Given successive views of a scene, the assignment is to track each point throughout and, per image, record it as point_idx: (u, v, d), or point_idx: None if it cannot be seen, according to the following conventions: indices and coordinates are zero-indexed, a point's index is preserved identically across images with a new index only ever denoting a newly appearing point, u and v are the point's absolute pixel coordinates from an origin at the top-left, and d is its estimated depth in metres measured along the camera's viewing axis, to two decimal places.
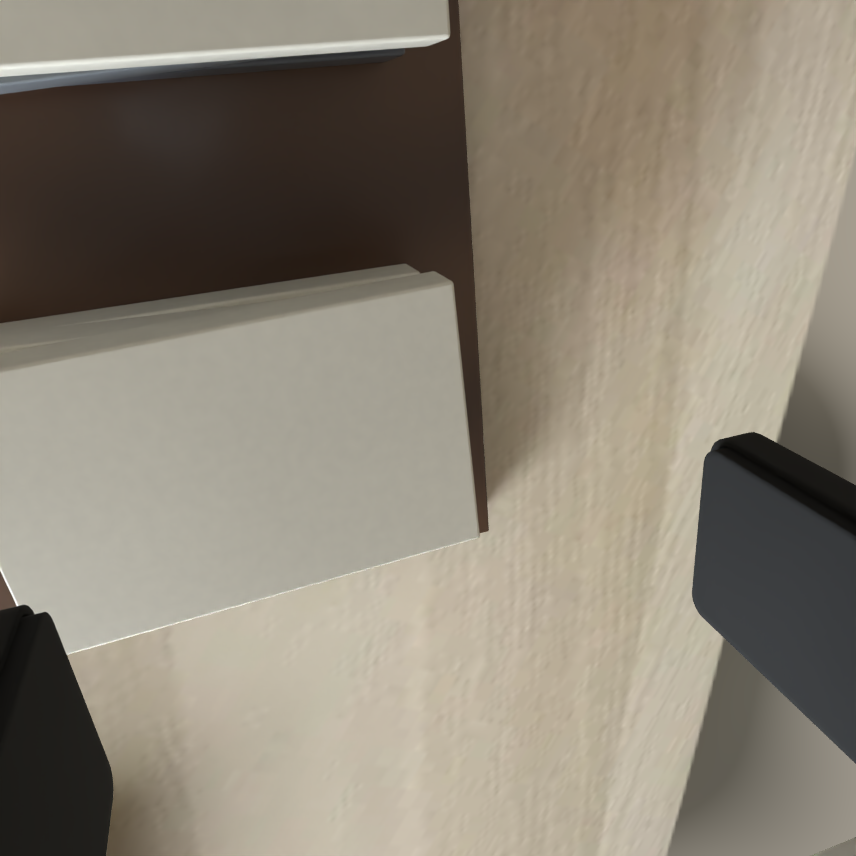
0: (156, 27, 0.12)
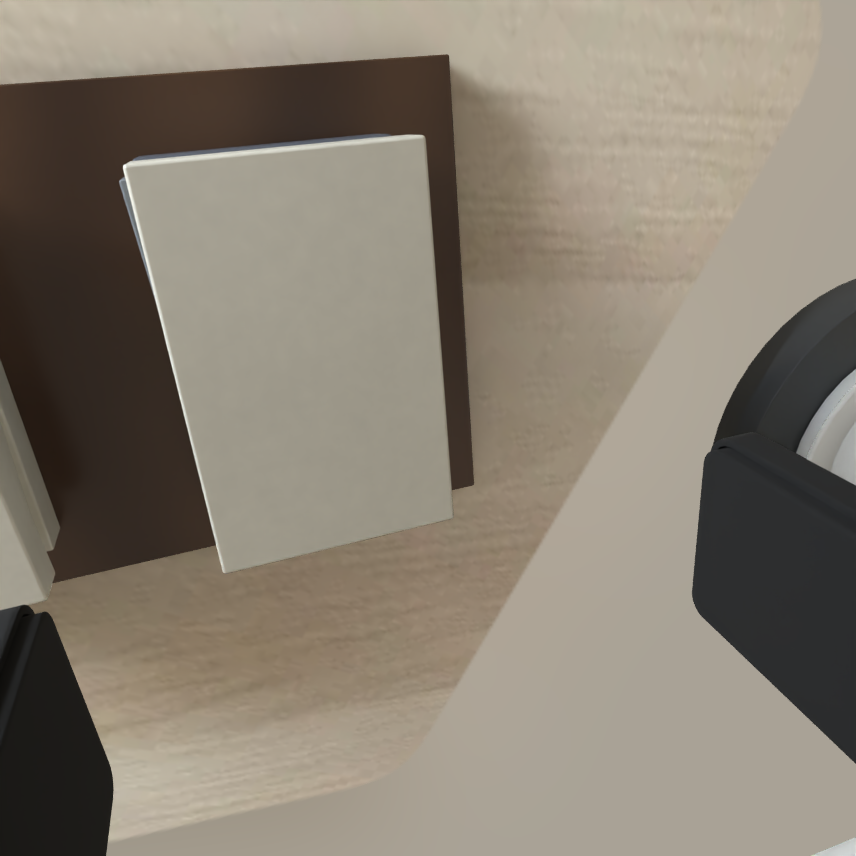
0: (200, 405, 0.18)
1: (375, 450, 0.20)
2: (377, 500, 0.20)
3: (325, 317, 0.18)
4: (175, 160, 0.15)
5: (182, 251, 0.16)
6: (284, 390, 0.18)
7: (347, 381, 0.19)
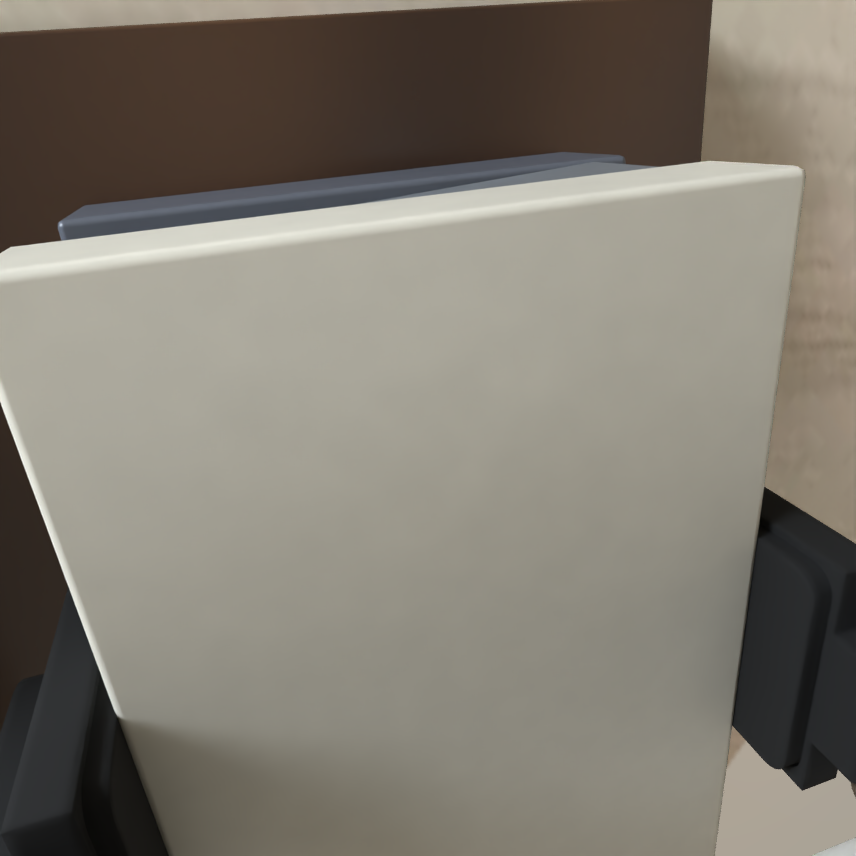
0: (207, 832, 0.07)
1: (583, 839, 0.09)
2: None
3: (513, 611, 0.07)
4: (128, 258, 0.05)
5: (155, 506, 0.06)
6: (406, 769, 0.08)
7: (544, 729, 0.08)
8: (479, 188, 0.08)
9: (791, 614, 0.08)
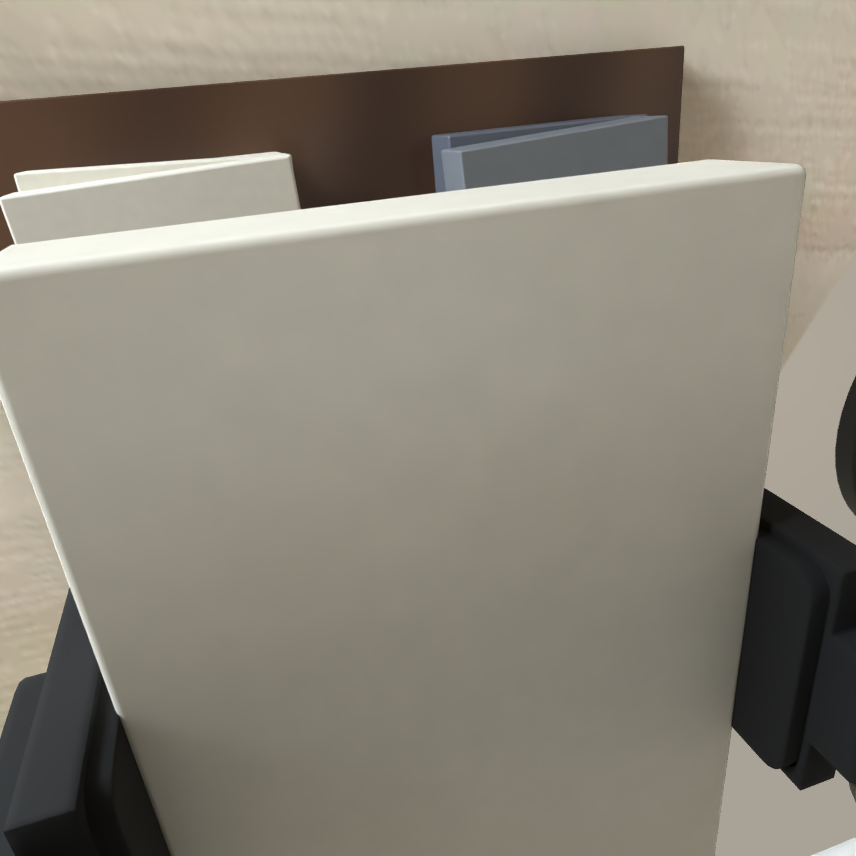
0: (207, 830, 0.07)
1: (583, 837, 0.09)
2: None
3: (513, 609, 0.07)
4: (128, 256, 0.05)
5: (155, 504, 0.06)
6: (406, 768, 0.08)
7: (545, 728, 0.08)
8: (594, 124, 0.22)
9: (789, 614, 0.08)
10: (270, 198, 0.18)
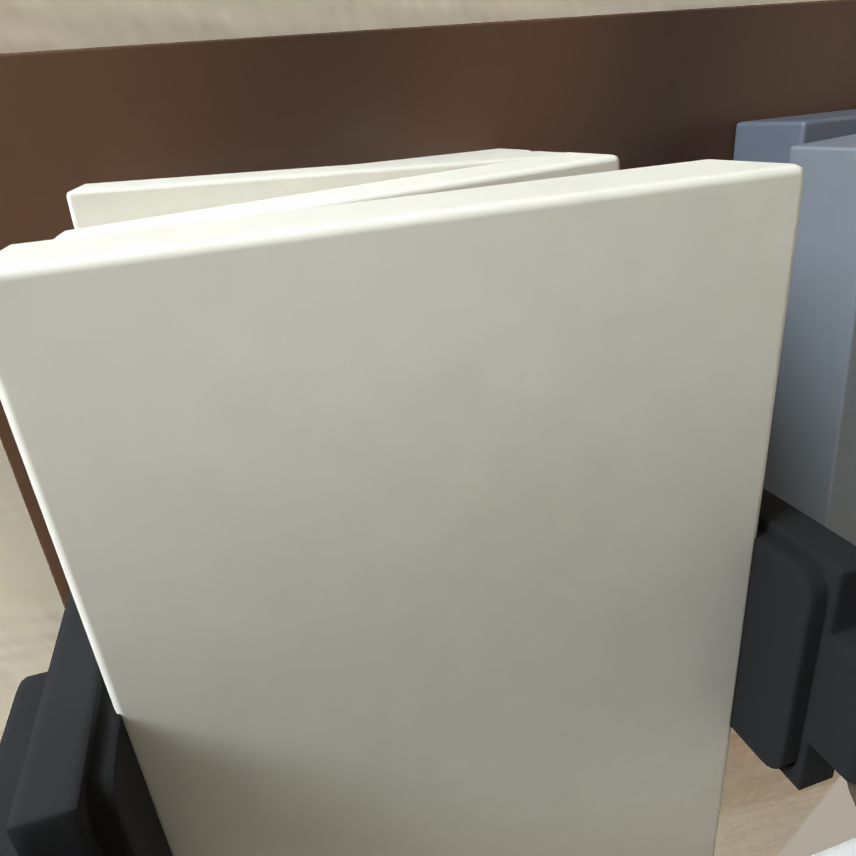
0: (205, 829, 0.07)
1: (582, 837, 0.09)
2: None
3: (512, 609, 0.07)
4: (128, 255, 0.05)
5: (155, 503, 0.06)
6: (405, 767, 0.08)
7: (544, 727, 0.08)
8: None
9: (788, 614, 0.08)
10: None
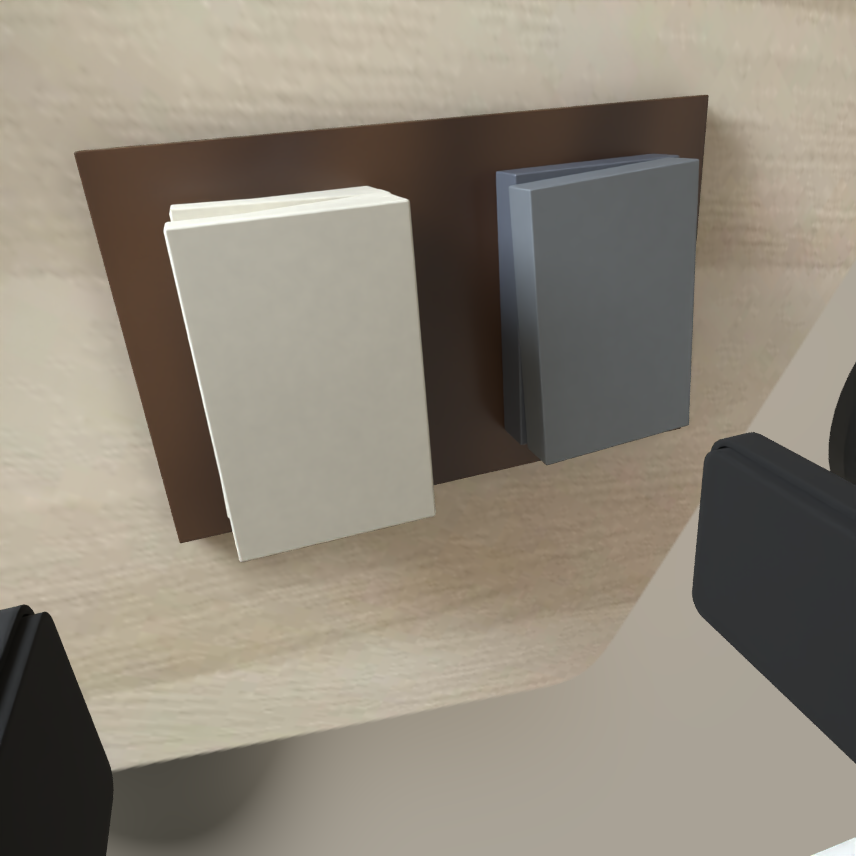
0: (222, 420, 0.21)
1: (368, 458, 0.23)
2: (370, 500, 0.24)
3: (326, 348, 0.21)
4: (205, 224, 0.19)
5: (210, 296, 0.20)
6: (292, 408, 0.22)
7: (344, 400, 0.22)
8: (636, 165, 0.26)
9: None
10: None
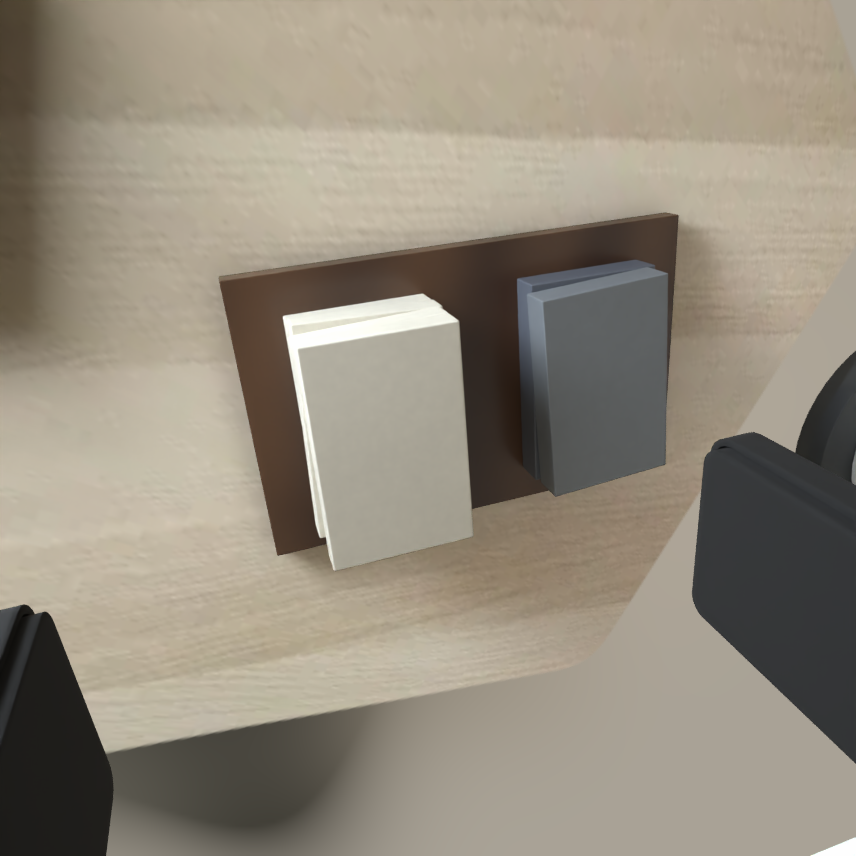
0: (327, 472, 0.30)
1: (426, 496, 0.32)
2: (427, 526, 0.33)
3: (400, 421, 0.30)
4: (323, 343, 0.28)
5: (323, 390, 0.29)
6: (375, 463, 0.31)
7: (411, 456, 0.31)
8: (621, 275, 0.35)
9: None
10: None
